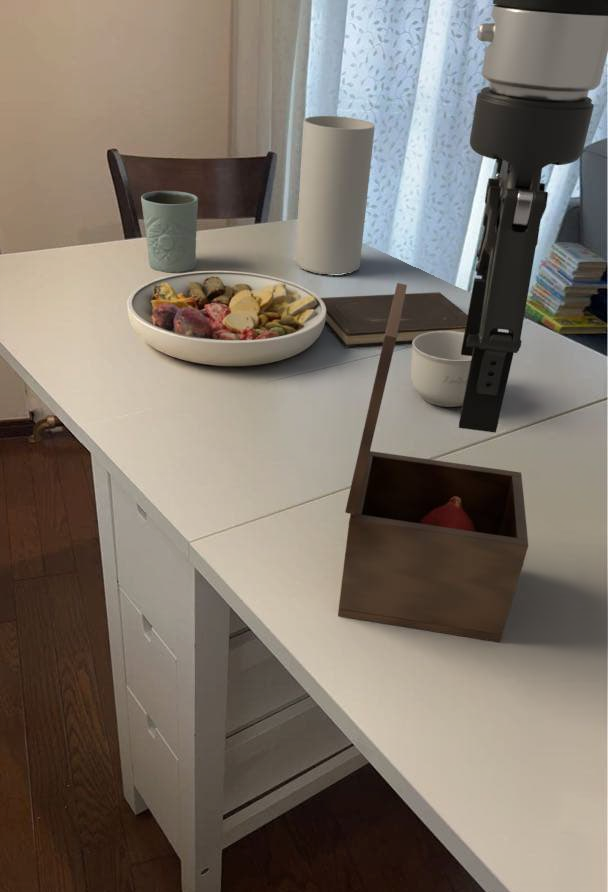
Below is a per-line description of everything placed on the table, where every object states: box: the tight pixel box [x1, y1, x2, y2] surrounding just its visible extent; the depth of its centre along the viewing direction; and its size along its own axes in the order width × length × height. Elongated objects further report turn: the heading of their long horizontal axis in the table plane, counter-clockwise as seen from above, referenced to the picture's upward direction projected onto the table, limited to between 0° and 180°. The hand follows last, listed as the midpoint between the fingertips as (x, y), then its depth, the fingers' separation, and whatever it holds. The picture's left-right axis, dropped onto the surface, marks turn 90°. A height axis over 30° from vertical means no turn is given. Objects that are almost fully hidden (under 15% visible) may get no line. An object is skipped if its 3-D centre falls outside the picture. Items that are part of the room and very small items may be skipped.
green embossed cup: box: [140, 190, 199, 273], centre depth 146 cm, size 10×10×12 cm
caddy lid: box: [344, 282, 408, 515], centre depth 66 cm, size 16×12×1 cm
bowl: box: [126, 270, 326, 367], centre depth 122 cm, size 30×30×8 cm
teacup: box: [410, 331, 472, 408], centre depth 110 cm, size 14×11×8 cm
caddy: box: [337, 450, 529, 643], centre depth 74 cm, size 15×12×11 cm
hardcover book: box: [320, 291, 468, 349], centre depth 131 cm, size 16×23×2 cm
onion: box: [419, 496, 476, 532], centre depth 75 cm, size 6×6×8 cm
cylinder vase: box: [295, 115, 376, 275], centre depth 147 cm, size 12×12×25 cm
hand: (476, 389), depth 64 cm, fingers open, 13 cm apart
